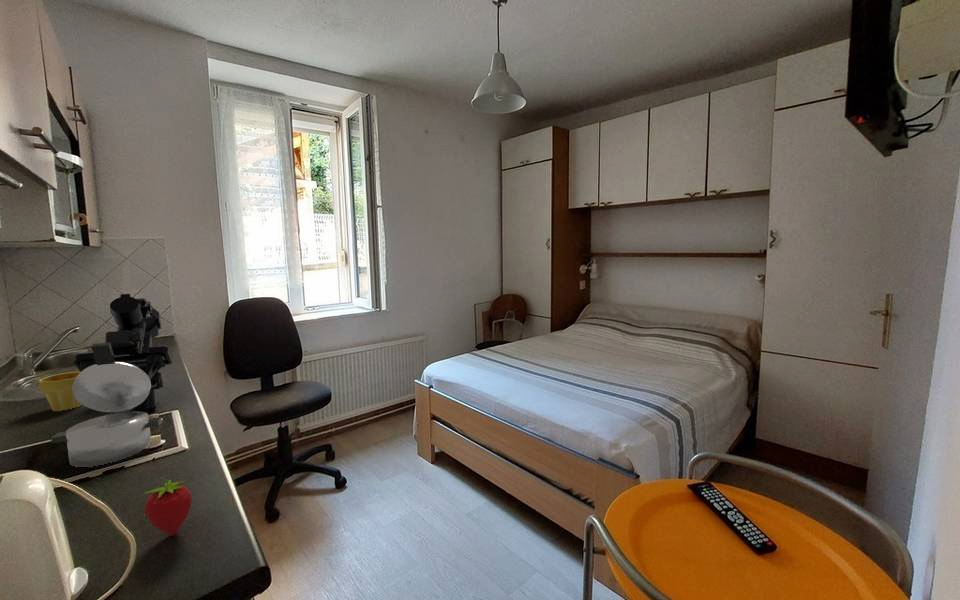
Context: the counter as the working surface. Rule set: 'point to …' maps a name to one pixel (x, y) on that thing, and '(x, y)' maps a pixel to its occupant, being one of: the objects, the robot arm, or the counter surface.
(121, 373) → the cooker lid
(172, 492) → the strawberry
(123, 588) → the counter surface
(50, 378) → the plant pot
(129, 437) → the cooker pot
